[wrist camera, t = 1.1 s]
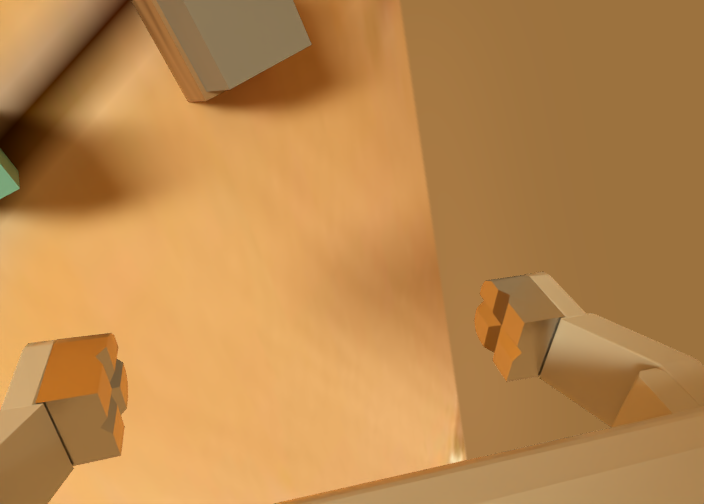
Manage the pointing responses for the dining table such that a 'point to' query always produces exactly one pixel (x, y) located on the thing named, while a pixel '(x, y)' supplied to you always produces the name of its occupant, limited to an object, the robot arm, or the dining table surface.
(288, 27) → the tower top
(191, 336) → the dining table surface
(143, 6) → the tower base
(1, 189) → the teal pillar
